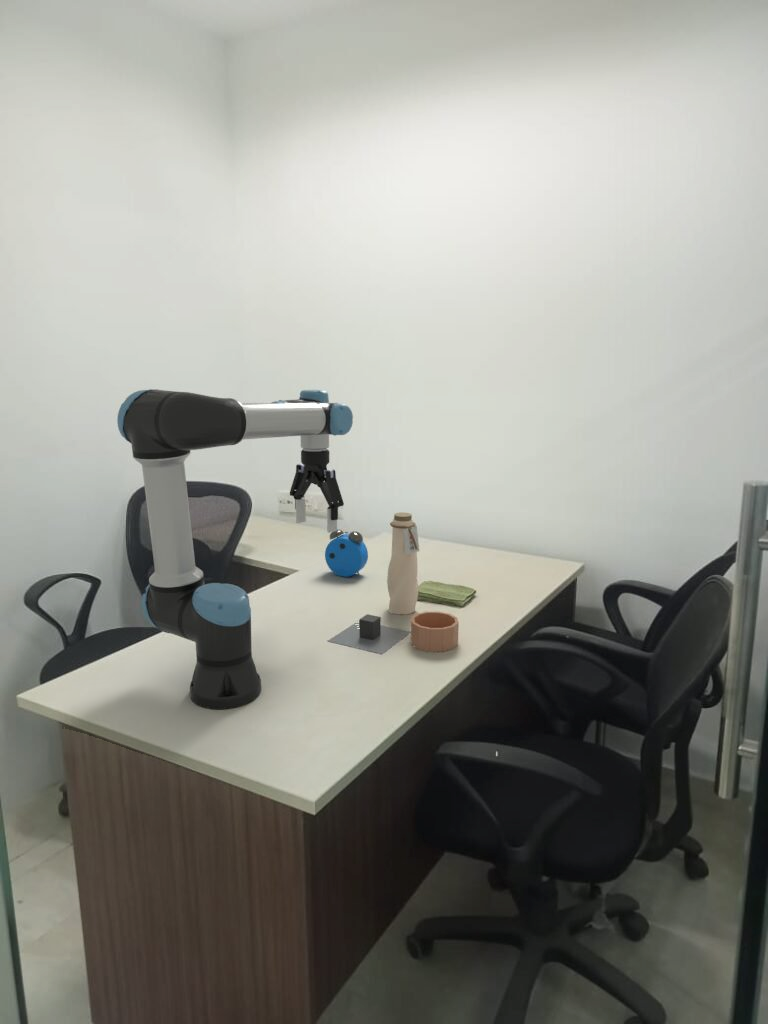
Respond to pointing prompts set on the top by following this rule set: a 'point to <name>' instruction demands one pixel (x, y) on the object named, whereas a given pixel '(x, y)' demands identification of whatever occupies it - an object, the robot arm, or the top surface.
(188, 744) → the top surface
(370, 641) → the cover sheet
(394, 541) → the water bottle
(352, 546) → the alarm clock
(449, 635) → the bowl
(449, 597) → the washcloth
